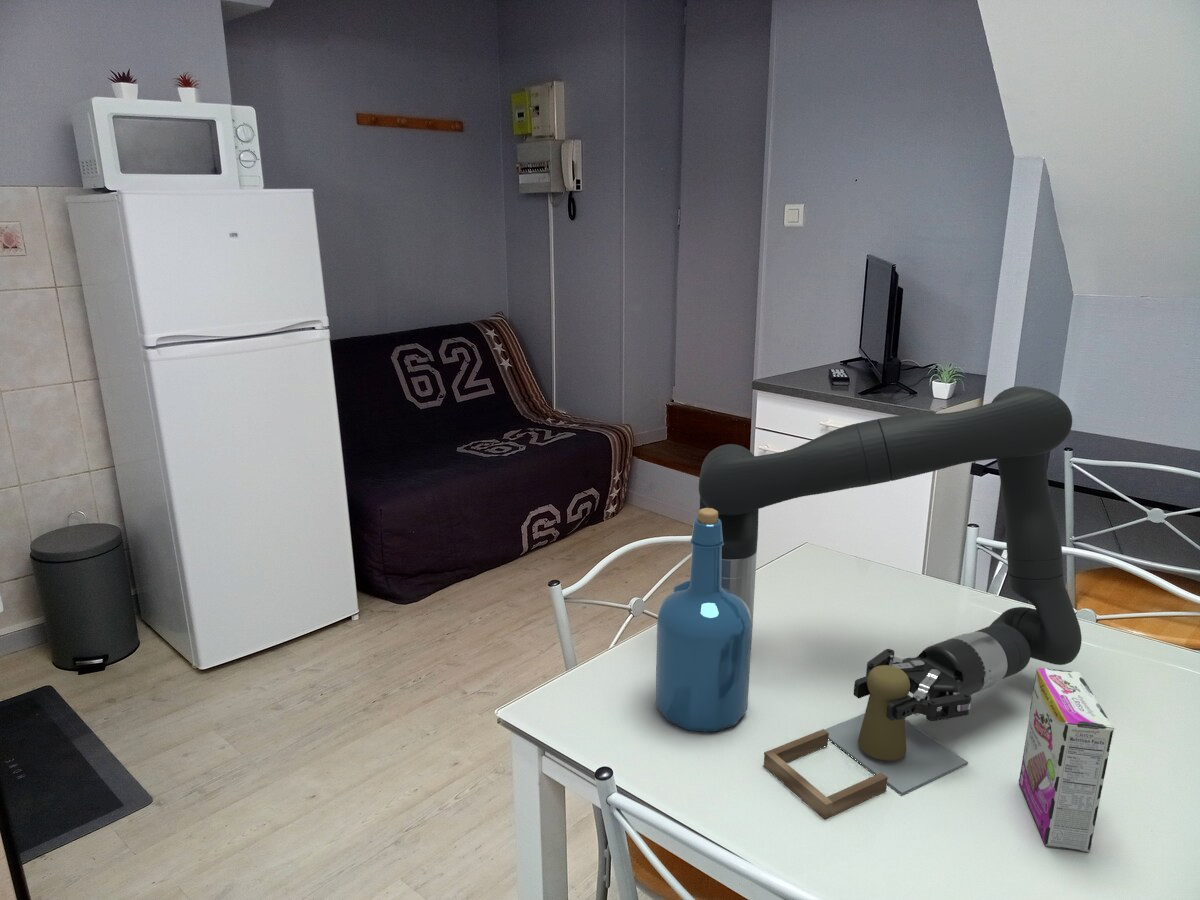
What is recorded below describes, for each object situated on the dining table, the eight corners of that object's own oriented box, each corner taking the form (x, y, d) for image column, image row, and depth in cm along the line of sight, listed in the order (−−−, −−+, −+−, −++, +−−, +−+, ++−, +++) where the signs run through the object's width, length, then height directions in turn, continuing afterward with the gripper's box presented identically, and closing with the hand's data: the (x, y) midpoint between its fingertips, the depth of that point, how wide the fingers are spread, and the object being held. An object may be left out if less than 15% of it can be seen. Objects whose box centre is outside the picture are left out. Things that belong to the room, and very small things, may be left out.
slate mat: (819, 733, 112) (820, 731, 112) (883, 708, 117) (883, 705, 117) (901, 795, 100) (901, 792, 100) (967, 764, 106) (968, 761, 105)
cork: (866, 725, 111) (873, 653, 108) (912, 741, 108) (921, 668, 105) (850, 749, 107) (857, 674, 104) (898, 766, 103) (906, 690, 100)
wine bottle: (761, 731, 112) (774, 525, 104) (666, 741, 110) (671, 532, 102) (729, 676, 125) (739, 490, 117) (644, 684, 123) (647, 495, 115)
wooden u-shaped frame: (763, 765, 105) (764, 752, 105) (822, 741, 110) (823, 728, 109) (824, 819, 96) (826, 805, 96) (886, 791, 101) (887, 777, 100)
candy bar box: (1014, 782, 102) (1034, 665, 98) (1058, 787, 101) (1080, 670, 97) (1042, 848, 92) (1065, 721, 87) (1091, 855, 91) (1118, 726, 86)
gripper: (922, 618, 117) (833, 649, 109) (1014, 665, 105) (921, 704, 97) (917, 664, 119) (829, 698, 111) (1006, 716, 107) (914, 758, 99)
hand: (872, 701), depth 104 cm, fingers closed on cork, 5 cm apart
